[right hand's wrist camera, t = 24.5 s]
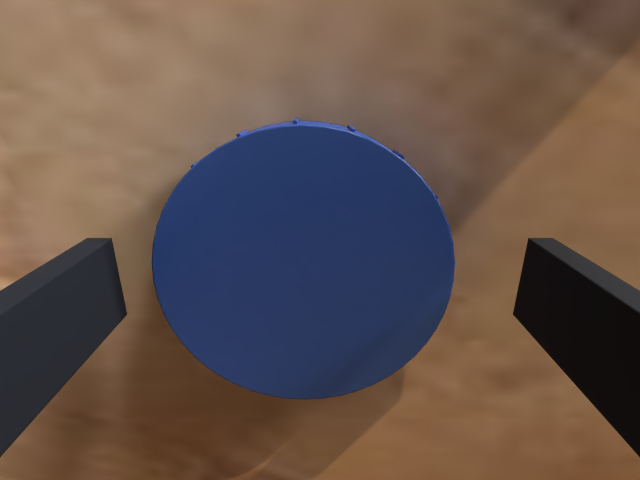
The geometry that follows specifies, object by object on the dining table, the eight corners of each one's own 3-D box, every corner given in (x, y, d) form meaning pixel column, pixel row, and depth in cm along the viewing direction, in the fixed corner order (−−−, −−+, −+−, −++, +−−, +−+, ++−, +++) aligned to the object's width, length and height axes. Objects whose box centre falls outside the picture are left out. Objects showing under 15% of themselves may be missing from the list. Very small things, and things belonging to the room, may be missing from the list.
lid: (408, 377, 15) (419, 412, 14) (170, 353, 15) (151, 386, 13) (471, 141, 12) (496, 149, 10) (168, 99, 11) (144, 100, 10)
